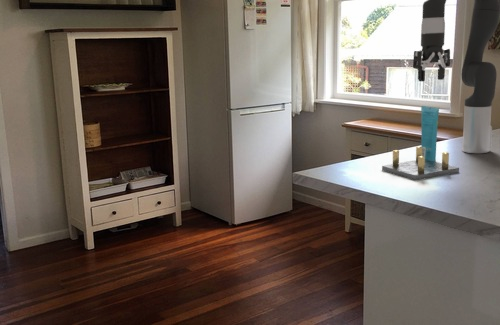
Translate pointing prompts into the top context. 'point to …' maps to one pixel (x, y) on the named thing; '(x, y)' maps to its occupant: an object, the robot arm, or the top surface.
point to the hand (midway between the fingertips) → (431, 80)
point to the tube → (429, 132)
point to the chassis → (420, 166)
